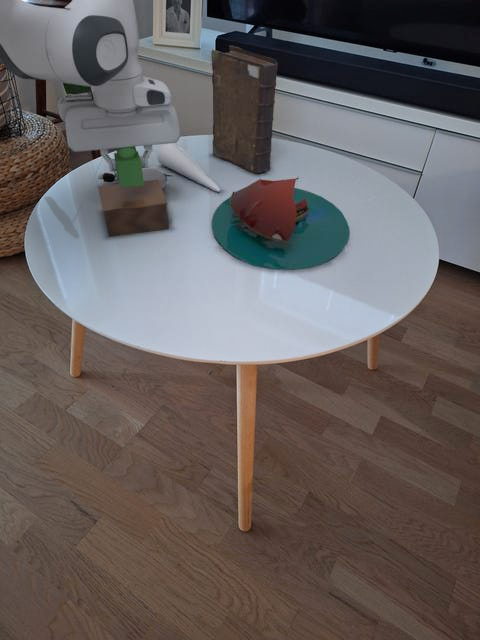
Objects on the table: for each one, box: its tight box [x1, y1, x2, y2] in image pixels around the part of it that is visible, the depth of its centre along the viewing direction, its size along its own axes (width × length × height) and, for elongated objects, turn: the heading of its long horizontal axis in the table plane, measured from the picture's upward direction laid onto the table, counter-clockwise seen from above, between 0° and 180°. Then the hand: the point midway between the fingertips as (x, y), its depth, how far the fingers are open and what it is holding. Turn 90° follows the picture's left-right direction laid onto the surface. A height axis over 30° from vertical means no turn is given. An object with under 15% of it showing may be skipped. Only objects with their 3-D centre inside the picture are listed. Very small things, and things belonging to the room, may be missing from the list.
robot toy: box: [97, 168, 174, 190], centre depth 105 cm, size 12×4×15 cm
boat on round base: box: [211, 177, 351, 271], centre depth 92 cm, size 28×28×11 cm
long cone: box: [156, 143, 221, 193], centre depth 110 cm, size 6×6×19 cm
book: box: [210, 45, 279, 174], centre depth 111 cm, size 17×7×25 cm, turn 39°
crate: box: [97, 180, 169, 237], centre depth 94 cm, size 12×10×6 cm
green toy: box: [113, 146, 144, 188], centre depth 88 cm, size 4×4×8 cm
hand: (129, 168), depth 89 cm, fingers closed on green toy, 4 cm apart
